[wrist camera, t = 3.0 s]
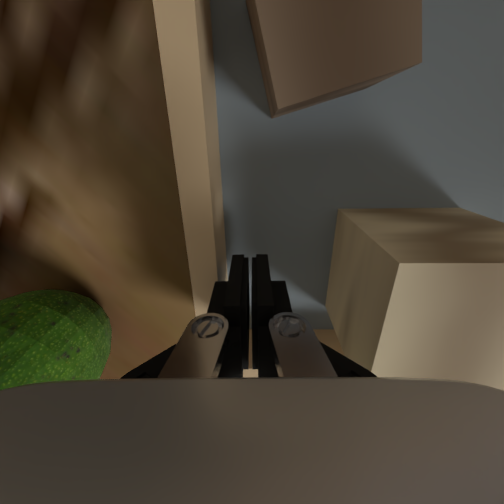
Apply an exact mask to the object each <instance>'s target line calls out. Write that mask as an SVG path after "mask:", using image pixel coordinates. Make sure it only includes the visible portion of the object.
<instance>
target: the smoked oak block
mask: <svg viewBox="0 0 504 504" xmlns="http://www.w3.org/2000/svg"><path fill="white" fill-rule="evenodd" d="M246 6H247V10H248V15H249V19H250V24H251V28H252V33H253V37H254V42H255V46H256V51H257V55H258V60H259V64H260V69H261V73H262V78H263V82H264V87H265V91H266V96H267V100H268V105H269V109H270V114H271V118H272V119H273V118H276V117H279V116H282V115H285V114H289V113H292V112H295V111H298V110H301V109H304V108H307V107H310V106H314V105H317V104H320V103H323V102H326V101H329V100H332V99H335V98H339V97H342V96H345V95H348V94H351V93H354V92H357V91H360V90H364V89H366V88H368V87H370V86H372V85H375V84H377V83H379V82H381V81H383V80H385V79H388V78H390V77H392V76H394V75H396V74H398V73H400V72H403V71H405V70H407V69H409V68H411V67H413V66H415V65H418V64H420V63H422V0H246Z"/></svg>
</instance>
